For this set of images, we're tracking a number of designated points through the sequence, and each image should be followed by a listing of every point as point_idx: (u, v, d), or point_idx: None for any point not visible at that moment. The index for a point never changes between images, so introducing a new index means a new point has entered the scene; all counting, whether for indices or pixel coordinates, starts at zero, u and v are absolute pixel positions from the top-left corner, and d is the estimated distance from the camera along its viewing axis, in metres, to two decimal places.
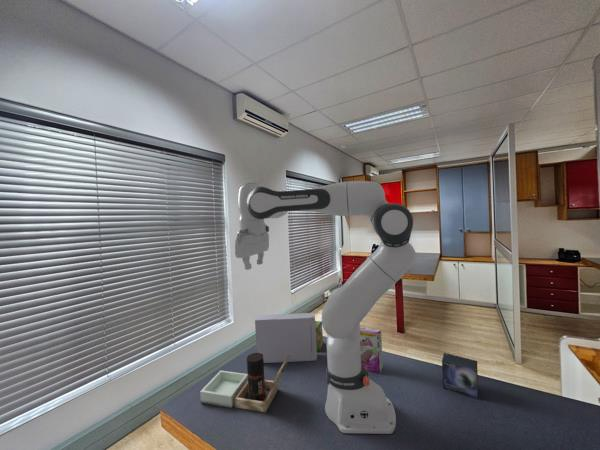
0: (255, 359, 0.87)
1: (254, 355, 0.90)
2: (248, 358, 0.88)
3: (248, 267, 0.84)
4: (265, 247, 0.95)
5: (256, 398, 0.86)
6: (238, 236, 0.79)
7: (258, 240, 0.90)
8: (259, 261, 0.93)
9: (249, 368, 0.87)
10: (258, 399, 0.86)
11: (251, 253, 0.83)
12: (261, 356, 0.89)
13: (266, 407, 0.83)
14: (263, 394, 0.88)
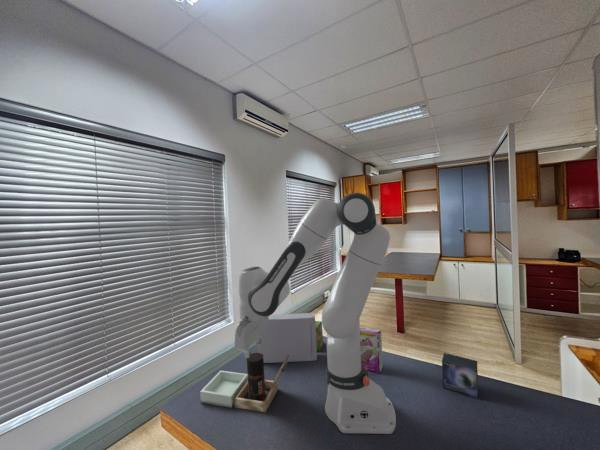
0: (255, 359, 0.87)
1: (254, 355, 0.90)
2: (248, 358, 0.88)
3: (247, 355, 0.84)
4: (265, 325, 0.95)
5: (256, 398, 0.86)
6: (238, 330, 0.79)
7: (258, 322, 0.90)
8: (258, 341, 0.93)
9: (249, 368, 0.87)
10: (258, 399, 0.86)
11: (251, 342, 0.83)
12: (261, 356, 0.89)
13: (266, 407, 0.83)
14: (263, 394, 0.88)
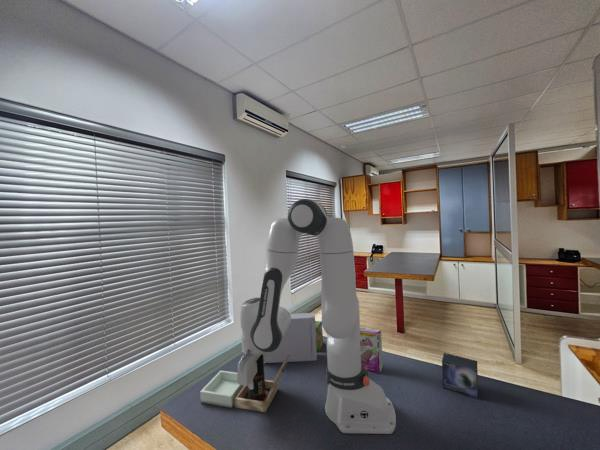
0: None
1: None
2: None
3: (252, 387, 0.85)
4: (267, 355, 0.95)
5: (256, 398, 0.86)
6: (240, 365, 0.79)
7: None
8: None
9: None
10: (258, 399, 0.86)
11: (253, 375, 0.84)
12: (261, 356, 0.89)
13: (266, 407, 0.83)
14: (263, 394, 0.88)
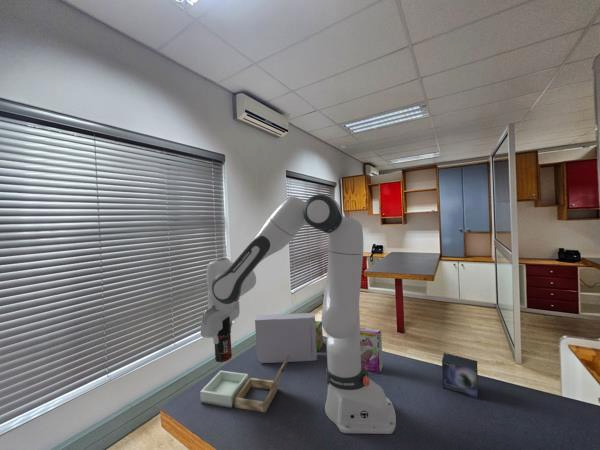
0: None
1: None
2: None
3: (216, 342, 0.88)
4: (235, 315, 0.98)
5: (221, 357, 0.90)
6: (203, 318, 0.82)
7: (226, 312, 0.93)
8: None
9: None
10: (223, 358, 0.90)
11: (217, 330, 0.87)
12: (227, 317, 0.92)
13: (266, 407, 0.83)
14: (229, 354, 0.91)
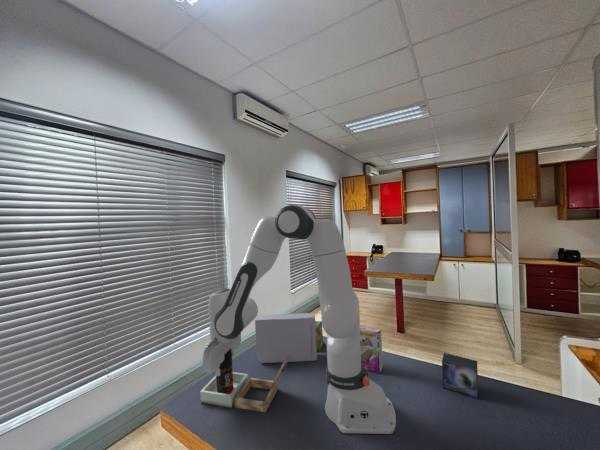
0: None
1: None
2: None
3: (218, 374, 0.88)
4: (236, 344, 0.98)
5: (223, 390, 0.90)
6: (205, 352, 0.83)
7: (228, 342, 0.93)
8: None
9: None
10: (225, 391, 0.90)
11: (219, 362, 0.87)
12: (229, 350, 0.93)
13: (266, 407, 0.83)
14: (230, 386, 0.91)
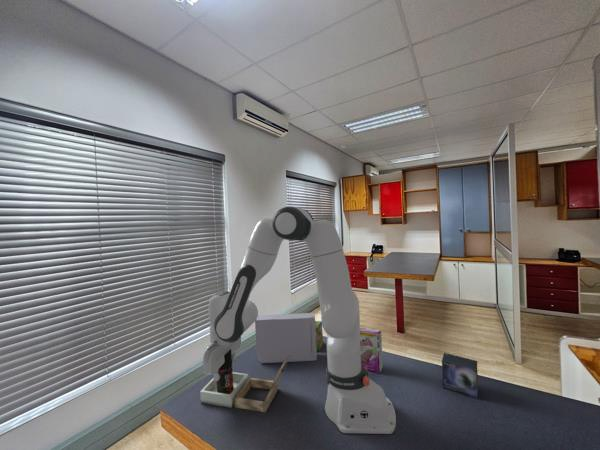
0: None
1: None
2: None
3: (217, 378, 0.87)
4: (237, 347, 0.98)
5: (223, 391, 0.90)
6: (205, 355, 0.83)
7: (228, 345, 0.93)
8: None
9: None
10: (225, 392, 0.90)
11: (219, 365, 0.87)
12: (229, 351, 0.93)
13: (266, 407, 0.83)
14: (230, 387, 0.91)
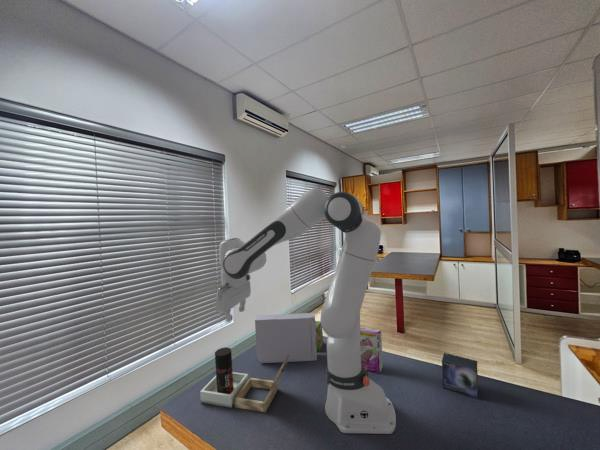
0: (222, 353, 0.91)
1: (223, 350, 0.93)
2: (216, 352, 0.92)
3: (229, 319, 0.90)
4: (247, 294, 1.01)
5: (223, 391, 0.90)
6: (218, 293, 0.85)
7: (239, 290, 0.96)
8: (241, 308, 0.99)
9: (216, 362, 0.90)
10: (225, 392, 0.90)
11: (232, 306, 0.90)
12: (229, 351, 0.93)
13: (266, 407, 0.83)
14: (230, 387, 0.91)
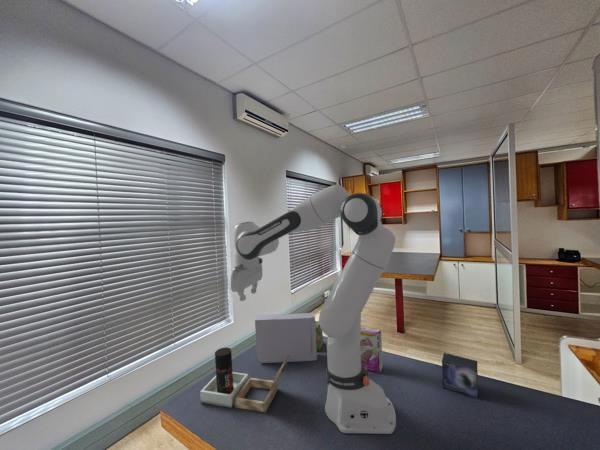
0: (222, 353, 0.91)
1: (223, 350, 0.93)
2: (216, 352, 0.92)
3: (242, 299, 0.94)
4: (259, 277, 1.05)
5: (223, 391, 0.90)
6: (233, 273, 0.89)
7: (252, 272, 1.00)
8: (253, 290, 1.03)
9: (216, 362, 0.90)
10: (225, 392, 0.90)
11: (245, 286, 0.93)
12: (229, 351, 0.93)
13: (266, 407, 0.83)
14: (230, 387, 0.91)
